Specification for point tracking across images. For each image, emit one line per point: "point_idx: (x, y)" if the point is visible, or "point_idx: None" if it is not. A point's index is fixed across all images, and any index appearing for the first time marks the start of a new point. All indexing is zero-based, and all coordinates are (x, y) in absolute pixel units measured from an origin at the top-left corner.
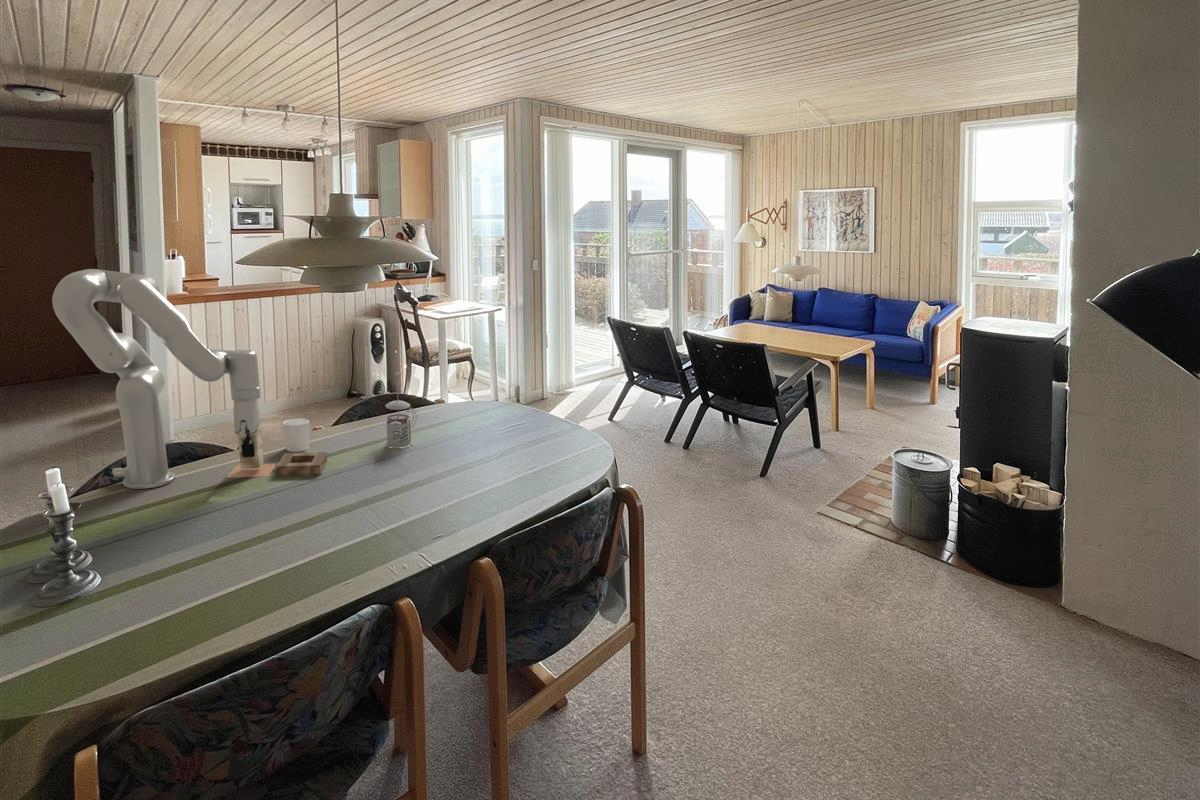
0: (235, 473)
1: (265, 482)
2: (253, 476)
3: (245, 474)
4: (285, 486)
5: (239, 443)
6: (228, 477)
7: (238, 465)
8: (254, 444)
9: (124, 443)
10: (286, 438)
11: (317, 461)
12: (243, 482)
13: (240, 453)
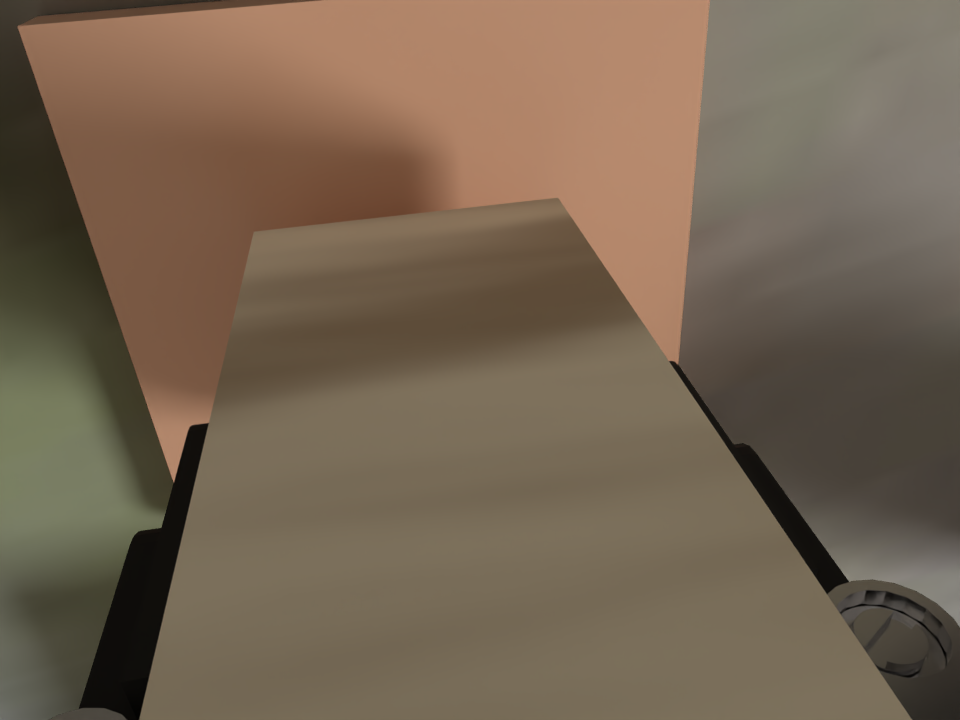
0: (249, 107)
1: (93, 526)
2: (150, 407)
3: (219, 277)
4: (17, 715)
5: (175, 618)
6: (29, 58)
7: (664, 6)
8: None
9: None
10: None
11: None
12: (29, 292)
13: (226, 406)
